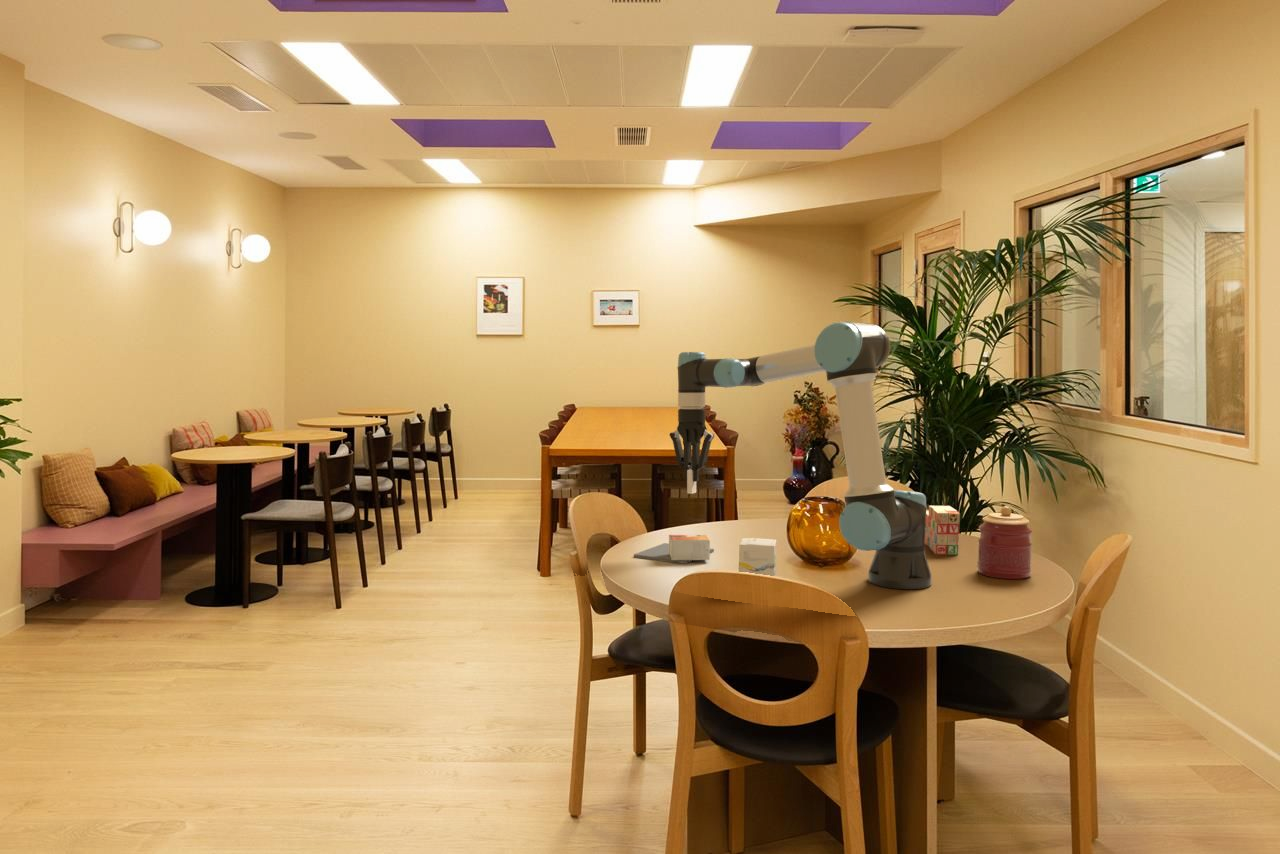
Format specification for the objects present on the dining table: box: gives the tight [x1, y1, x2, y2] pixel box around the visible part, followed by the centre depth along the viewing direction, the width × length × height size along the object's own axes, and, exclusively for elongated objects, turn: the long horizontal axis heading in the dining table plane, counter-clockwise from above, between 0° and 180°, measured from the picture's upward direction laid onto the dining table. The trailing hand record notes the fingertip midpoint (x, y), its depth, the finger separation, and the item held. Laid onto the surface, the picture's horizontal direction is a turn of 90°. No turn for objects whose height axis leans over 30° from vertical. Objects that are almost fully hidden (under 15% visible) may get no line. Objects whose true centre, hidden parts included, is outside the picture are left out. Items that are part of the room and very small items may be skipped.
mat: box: [633, 542, 715, 564], centre depth 263 cm, size 16×18×1 cm
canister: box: [976, 505, 1034, 580], centre depth 241 cm, size 13×13×18 cm
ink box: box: [738, 537, 777, 576], centre depth 225 cm, size 9×8×12 cm
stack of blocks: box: [925, 505, 961, 556], centre depth 275 cm, size 21×6×12 cm, turn 174°
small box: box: [668, 534, 711, 561], centre depth 256 cm, size 8×6×10 cm
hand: (691, 492), depth 259 cm, fingers closed
